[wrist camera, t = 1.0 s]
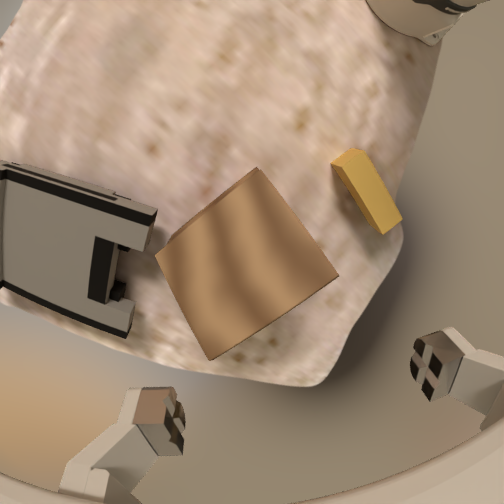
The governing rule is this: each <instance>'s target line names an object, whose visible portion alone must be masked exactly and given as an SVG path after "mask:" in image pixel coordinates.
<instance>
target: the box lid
mask: <svg viewBox="0 0 504 504" xmlns="http://www.w3.org/2000/svg"><path fill="white" fill-rule="evenodd" d="M155 257H156V259H157V261H158V263H159V266H160V268H161V270H162V272H163V274H164V276H165V278H166V280H167V282H168V284H169V286H170V288H171V290H172V292H173V294H174V296H175V298H176V300H177V302H178V304H179V306H180V308H181V310H182V312H183V314H184V316H185V318H186V320H187V322H188V324H189V325H190V327H191V329H192V331H193V333H194V335H195V337H196V338H197V340H198V342H199V344H200V346H201V347H202V349H203V351H204V353H205V355H206V356H207V358H208V360H209V361H211V360H214V359H215V358H217V357H219V356H220V355H222V354H224V353H225V352H227V351H228V350H230V349H232V348H233V347H235V346H237V345H238V344H240V343H241V342H243V341H244V340H246V339H248V338H249V337H251V336H252V335H254V334H255V333H257V332H259V331H260V330H262V329H263V328H265V327H266V326H268V325H269V324H271V323H272V322H274V321H275V320H277V319H278V318H280V317H281V316H283V315H284V314H286V313H287V312H289V311H290V310H292V309H293V308H295V307H296V306H298V305H299V304H301V303H302V302H303V301H305V300H306V299H308V298H309V297H311V296H312V295H313V294H315V293H316V292H318V291H319V290H321V289H322V288H323V287H325V286H326V285H328V284H329V283H330V282H332V281H333V280H335V279H336V278H337V277H339V274H338V273H337V272H336V270H335V269H334V267H333V266H332V264H331V263H330V262H329V260H328V259H327V257H326V256H325V255H324V253H323V252H322V250H321V249H320V248H319V246H318V245H317V243H316V242H315V241H314V239H313V238H312V236H311V235H310V234H309V232H308V231H307V230H306V228H305V227H304V226H303V224H302V223H301V222H300V220H299V219H298V217H297V216H296V215H295V213H294V212H293V211H292V209H291V208H290V207H289V205H288V204H287V203H286V202H285V200H284V199H283V198H282V196H281V195H280V194H279V192H278V191H277V190H276V188H275V187H274V186H273V185H272V183H271V182H270V181H269V179H268V178H267V177H266V176H265V174H264V173H263V172H262V171H261V169H260V170H259V171H258V172H257V173H255V174H254V175H253V176H251V177H250V178H249V179H247V180H246V181H245V182H244V183H242V184H241V185H240V186H238V187H237V188H236V189H235V190H233V191H232V192H231V193H229V194H228V195H227V196H226V197H224V198H223V199H222V200H221V201H219V202H218V203H217V204H216V205H214V206H213V207H212V208H211V209H209V210H208V211H207V212H206V213H205V214H203V215H202V216H201V217H200V218H198V219H197V220H196V221H195V222H194V223H192V224H191V225H190V226H189V227H188V228H186V229H185V230H184V231H183V232H182V233H180V234H179V235H178V236H177V237H176V238H174V239H173V240H172V241H171V242H170V243H169V244H167V245H166V246H165V247H164V248H163V249H162V250H160V251H159V252H158V253H157V254H156V255H155Z"/></svg>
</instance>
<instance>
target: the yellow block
mask: <svg viewBox="0 0 504 504" xmlns="http://www.w3.org/2000/svg"><path fill="white" fill-rule="evenodd" d="M331 165H332V166H333V168H334V169H335V171H336V172H337V174H338V175H339V177H340V178H341V180H342V181H343V183H344V184H345V186H346V187H347V189H348V190H349V192H350V194H351V195H352V197H353V198H354V200H355V201H356V203H357V205H358V206H359V208H360V210H361V211H362V213H363V215H364V216H365V218H366V220H367V221H368V223H369V225H370V226H372V227H373V228H374V229H376V230H377V231H378V232H380V233H381V234H382V235H383V234H385V233H386V232H387V231H388V230H390V229H391V228H392V227H394V226H395V225H396V224H397V223H399V222H400V221H401V220H402V217H401V215H400V213H399V211H398V209H397V207H396V205H395V203H394V201H393V199H392V198H391V196H390V194H389V192H388V190H387V188H386V187H385V185H384V183H383V181H382V180H381V178H380V176H379V174H378V173H377V171H376V169H375V168H374V166H373V164H372V163H371V161H370V159H369V158H368V156H367V154H366V153H365V151H364V150H359V149H353V148H351V149H349V150H348V151H347V152H345V153H344V154H342V155H341V156H340V157H338V158H337V159H336V160H334V161H333V162H332V163H331Z"/></svg>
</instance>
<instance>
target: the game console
mask: <svg viewBox="0 0 504 504" xmlns="http://www.w3.org/2000/svg"><path fill="white" fill-rule="evenodd" d="M157 211H158V209H156V208H153V207H150V206H147V205H144V204H140V203H137V202H134V201H131V199H128V198H125V197H122V196H119V195H116V194H115V191H112V190H109V189H105V188H102V187H99V186H96V185H93V184H89V183H86V182H83V181H80V180H76V179H73V178H70V177H67V176H63V175H60V174H57V173H54V172H50V171H47V170H44V169H40V168H37V167H34V166H30V165H27V164H23V165H19V164H16V163H13V162H12V163H9V162H6V161H3V160H0V289H1V288H2V287H5V288H7V289H9V290H11V291H13V292H15V293H17V294H19V295H21V296H23V297H25V298H27V299H29V300H31V301H34V302H36V303H38V304H40V305H42V306H44V307H47V308H49V309H51V310H53V311H56V312H58V313H60V314H62V315H65V316H67V317H70V318H72V319H74V320H77V321H79V322H82V323H84V324H87V325H89V326H92V327H94V328H97V329H100V330H102V331H105V332H108V333H110V334H113V335H116V336H119V337H122V338H124V339H126V338H127V335H128V333H129V331H130V329H131V325H132V320H133V314H134V309H135V304H136V302H134V301H131V300H128V299H125V298H124V293H125V288H126V283H123V282H121V281H118V280H115V272H116V266H117V261H118V255H119V250H123V251H126V252H128V251H129V250H130V249H131V248H132V249H135V250H138V251H141V252H143V251H144V250H145V248H146V247H147V245H148V244H149V241H150V237H151V234H152V230H153V226H154V222H155V218H156V215H157Z"/></svg>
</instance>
